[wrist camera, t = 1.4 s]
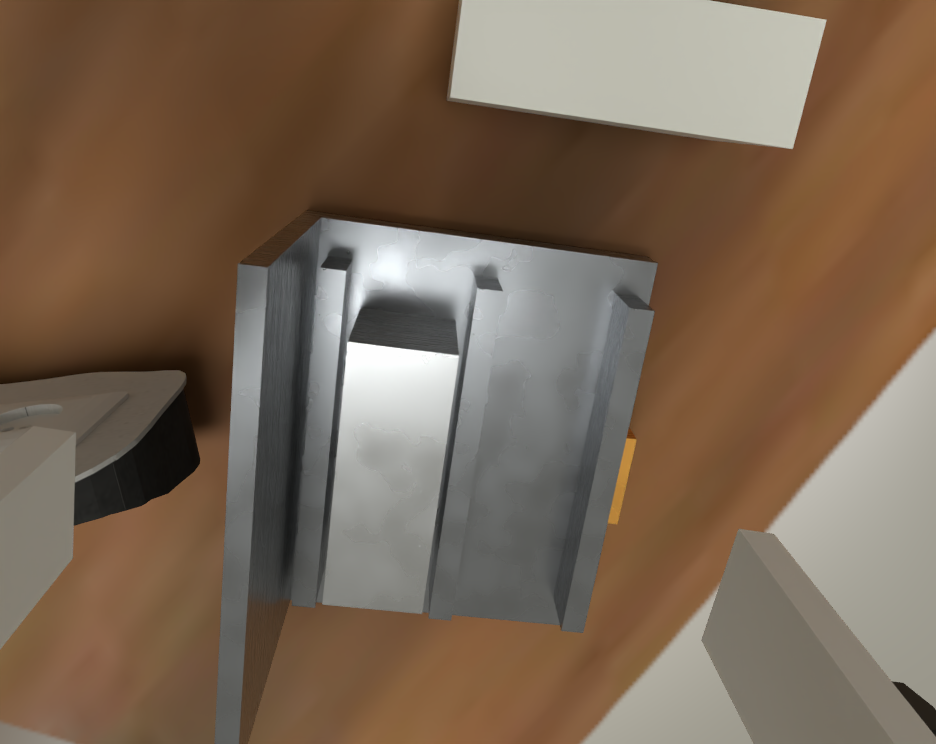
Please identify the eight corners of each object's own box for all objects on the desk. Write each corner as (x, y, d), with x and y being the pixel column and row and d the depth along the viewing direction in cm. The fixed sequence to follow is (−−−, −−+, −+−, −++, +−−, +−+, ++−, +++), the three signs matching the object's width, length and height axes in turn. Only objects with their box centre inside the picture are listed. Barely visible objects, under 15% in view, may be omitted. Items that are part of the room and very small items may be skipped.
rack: (307, 210, 32) (238, 263, 21) (648, 256, 34) (758, 331, 22) (279, 579, 38) (212, 779, 27) (572, 608, 39) (629, 811, 28)
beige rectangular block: (446, 100, 31) (450, 97, 24) (459, -2, 30) (467, -40, 23) (708, 140, 32) (792, 148, 25) (731, 42, 31) (826, 19, 23)
